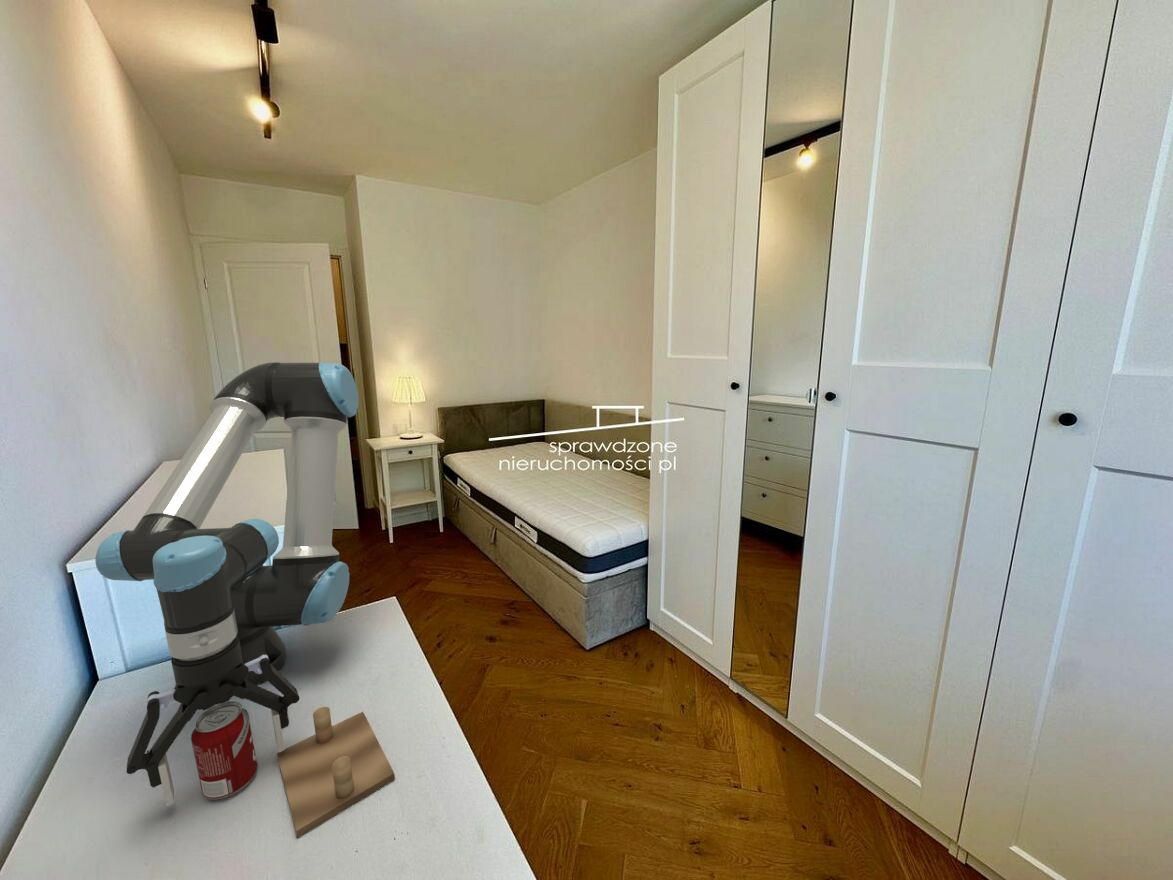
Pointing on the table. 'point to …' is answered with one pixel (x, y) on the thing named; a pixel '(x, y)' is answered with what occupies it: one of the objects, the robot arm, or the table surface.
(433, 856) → the table surface
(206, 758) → the soda can
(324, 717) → the pegboard
